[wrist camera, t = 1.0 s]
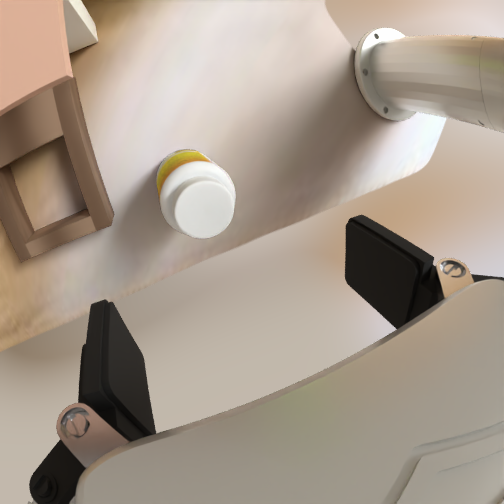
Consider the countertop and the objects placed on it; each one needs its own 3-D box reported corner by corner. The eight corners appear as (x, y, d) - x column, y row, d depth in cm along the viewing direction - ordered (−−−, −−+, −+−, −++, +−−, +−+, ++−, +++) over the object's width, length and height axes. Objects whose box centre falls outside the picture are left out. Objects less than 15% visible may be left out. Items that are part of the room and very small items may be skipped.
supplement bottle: (144, 185, 26) (144, 224, 17) (179, 136, 25) (196, 150, 16) (191, 214, 29) (213, 263, 20) (224, 169, 28) (263, 199, 19)
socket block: (75, 77, 19) (66, 73, 16) (114, 214, 26) (111, 225, 23) (-14, 125, 16) (-28, 128, 14) (30, 248, 24) (21, 262, 21)
